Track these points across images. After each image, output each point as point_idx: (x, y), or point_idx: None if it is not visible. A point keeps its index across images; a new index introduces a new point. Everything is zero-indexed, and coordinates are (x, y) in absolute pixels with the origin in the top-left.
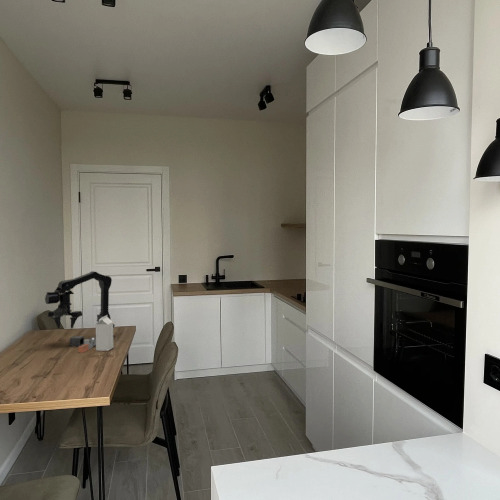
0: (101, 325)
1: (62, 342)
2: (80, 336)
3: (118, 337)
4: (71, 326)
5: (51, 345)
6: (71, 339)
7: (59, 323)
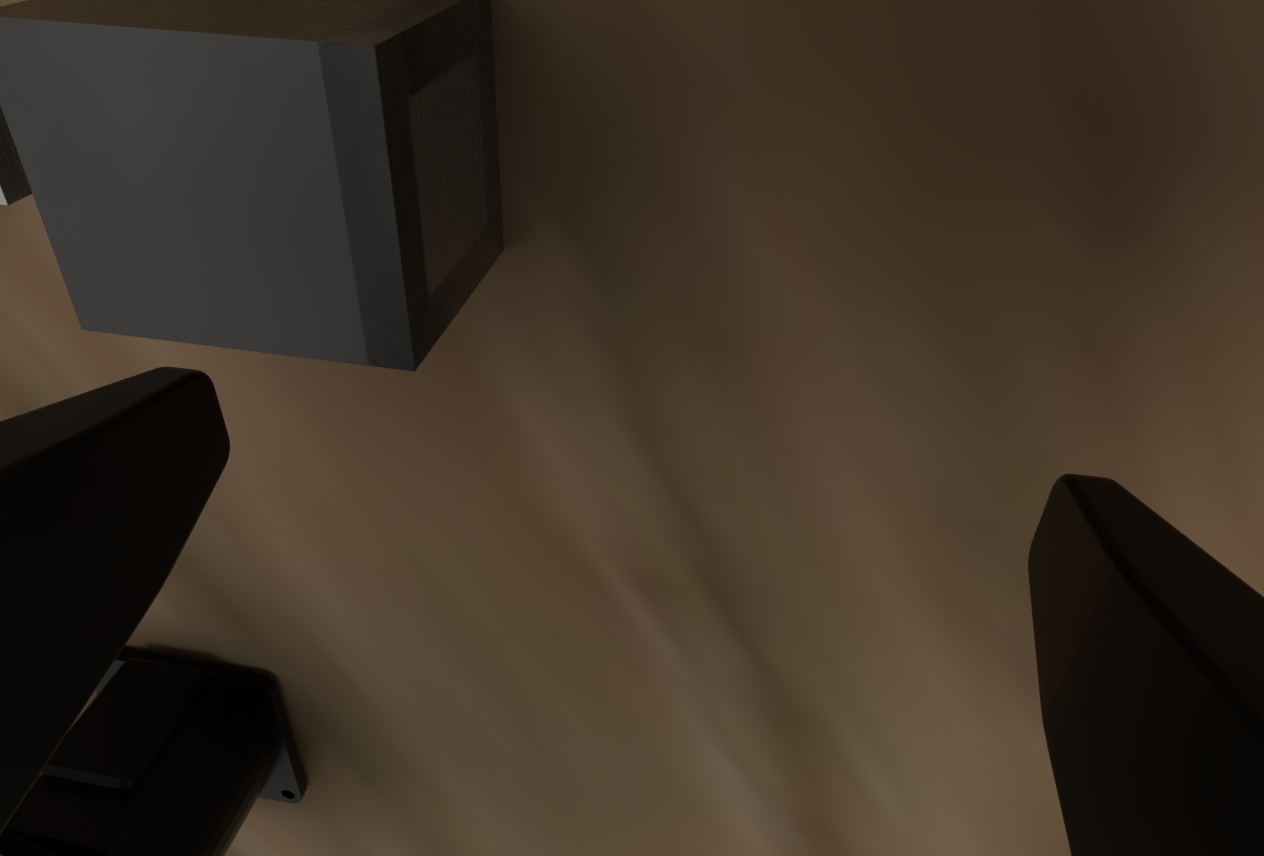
0: None
1: (946, 423)
2: (162, 298)
3: None
4: (66, 417)
5: (1202, 78)
6: (330, 29)
7: (1116, 833)
